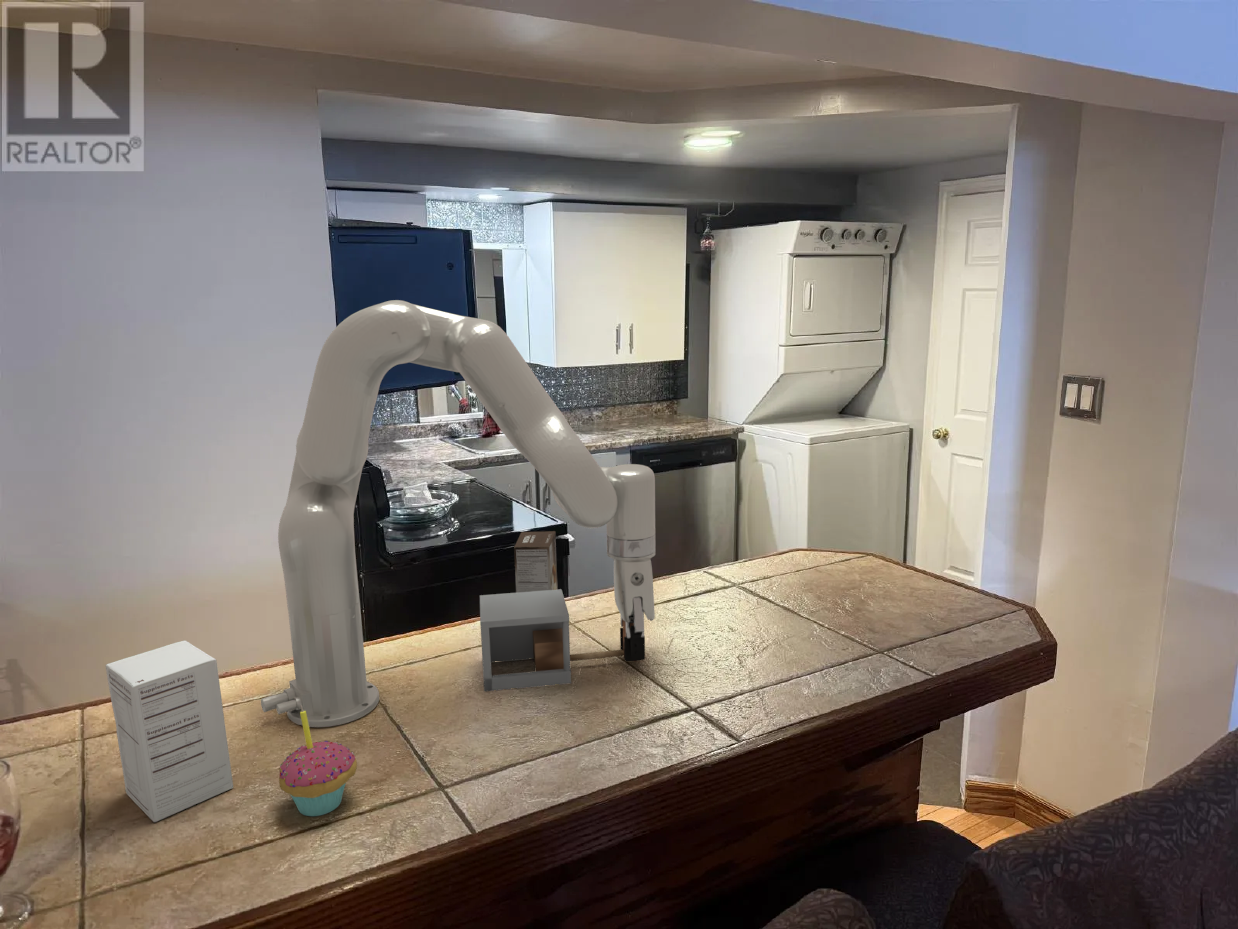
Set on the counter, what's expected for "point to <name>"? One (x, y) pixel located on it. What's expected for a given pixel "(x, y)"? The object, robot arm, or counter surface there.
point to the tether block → (551, 650)
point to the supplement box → (170, 728)
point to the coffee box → (535, 561)
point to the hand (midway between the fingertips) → (632, 654)
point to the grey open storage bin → (521, 635)
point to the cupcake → (317, 773)
